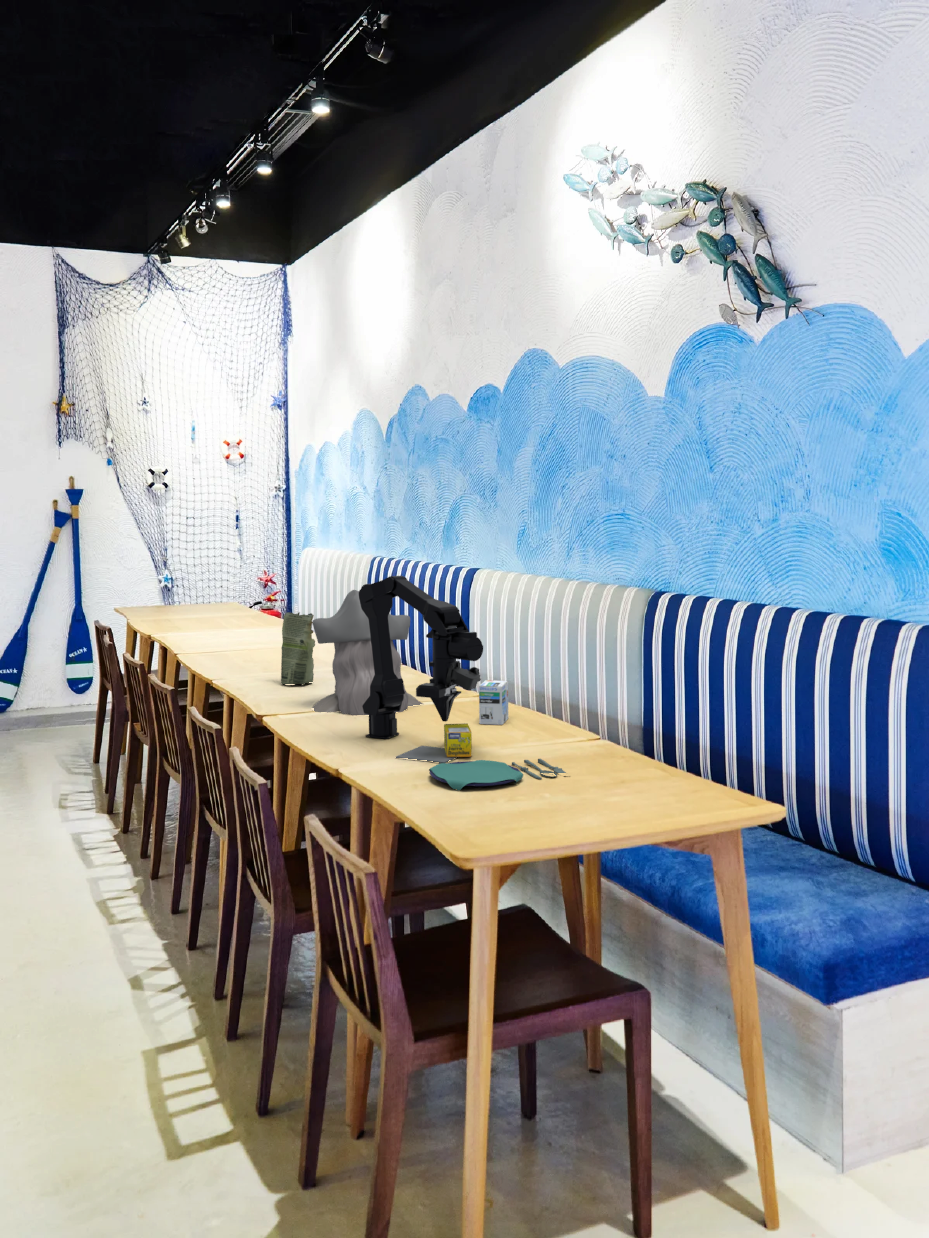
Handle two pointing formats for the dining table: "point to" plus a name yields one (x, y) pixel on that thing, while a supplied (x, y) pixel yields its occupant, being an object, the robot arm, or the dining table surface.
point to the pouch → (297, 649)
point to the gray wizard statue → (356, 656)
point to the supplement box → (457, 740)
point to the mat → (427, 754)
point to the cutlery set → (484, 773)
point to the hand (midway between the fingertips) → (445, 721)
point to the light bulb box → (493, 702)
